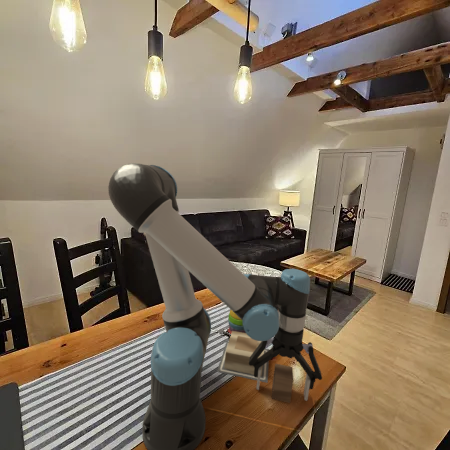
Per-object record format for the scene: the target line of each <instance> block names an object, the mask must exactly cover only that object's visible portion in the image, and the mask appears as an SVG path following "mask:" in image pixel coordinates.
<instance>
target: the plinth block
mask: <svg viewBox="0 0 450 450" xmlns="http://www.w3.org/2000/svg"><path fill="white" fill-rule="evenodd" d="M228 341H229V343H228V346H227V349H226V354H225V366H224V369H229V370H234V371H238V372H243V373H248V374H252V375H254V369H255V368H254V366H253V365H252V366H250V365H249V359H250V356H251V355H252V354H253V352H254V351H255V350H256V348H257V347H258V346H259V344H260V343H261V342H262V341H256V340H254V339H252V338H250V337H249V336H248V335H247V334H246V333H242V332H236V331H232V333H231V336H230V335H229V339H228ZM263 354H264V351H263V352H262V353H261V355H260V356H259V357H261V356H262V355H263ZM259 357H258V358H259ZM262 367H263V365H262V366H261V376H262Z"/></svg>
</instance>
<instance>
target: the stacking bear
mask: <svg viewBox="0 0 450 450" xmlns="http://www.w3.org/2000/svg"><path fill="white" fill-rule="evenodd" d="M227 320H228V326H229V327H228V329H227V333H228V332H229V333H230V334H231V333H232V331H236V332H242V333H246V332H245V330H244V327H243V321H242V320H241V319H240V318H239V317H238V316H237V315H236V314H235V313H234V312H233V311H232V310H231V309H230V308H229V313H228V318H227Z"/></svg>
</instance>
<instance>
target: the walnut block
mask: <svg viewBox="0 0 450 450" xmlns="http://www.w3.org/2000/svg"><path fill="white" fill-rule="evenodd" d="M273 370H274V371H273V379H272V386H271V387H272V391H271V392H272V393H271V399H272V400H277V401H280V402H284V403H289V404H290V403H291V398H292V391H293V385H294V371H293V366H289V365H284V364H280V363H274V369H273Z"/></svg>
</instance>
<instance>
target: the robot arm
mask: <svg viewBox="0 0 450 450" xmlns="http://www.w3.org/2000/svg"><path fill="white" fill-rule="evenodd" d="M107 187H108V188H107V189H108V195H109V200H110V202H111V204H112V205H113V207H114V208H115V210H116V211H117V213H118V214H120V216H121V217H122V218H123V219H124V220H125V221H126V222H127V223H128V224H129V225H130V226H131V227H132V228H133V229H135V230H136V231H137V232H138V233H141V234H143V233H144V234H145V238H146V243H147V246H148V250H149V253H150V257H151V260H152V264H153V268H154V269H155V275H156V278H157V280H158V285H159V289H160V292H161V295H162V299H163V303H164V306H165V310H164V311H163V313H162V316H161V317H162V321H163V324H164V327H165V331H164V332H162V333H161V334H160V335H159V336H158V337H157V338H156V340H155V341H154V344H153V346H152V350H151V353H150V354H151V355H150V402H149V404H148V406H147V409H146V411H145V414H144V415H143V416H144V417H143V419H142V420H143V421H142V428H141V429H142V433H141V434H142V440H143V443H144V445H145V448H146V449H147V450H196V448H197V447H199V445H200V443H201V441H202V439H203V438H204V436H205V431H206V412H205V409H204V407H203V403H202V400H201V386H202V385H201V383H202V374H203V373H202V372H203V371H202V370H203V368H204V367H203V366H204V361H205V356H206V352H207V348H208V342H209V339H210V336H211V331H212V321H211V317H210V314H209V312H208V311H207V310H206V309H205V308H204V305H203V302H202V301H201V300H199V299H197V297H196V295H195V290H194V286H193V283H192V279H191V275H190V274H192V276H194V277H195V279H197V280H198V281H199V282H200V283H202V285H203V286H204V287H206V288H207V289H208V290H209V291H210V292H211V293H212V294H213V295H214V296H215V297H216V298H218V299H219V300H220V301H221V303H223V304H224V305H225V306H227V308H229V310H230V309H231V310H232V311H233V312H234V313H235V314H236V315H237V316H238V317H239V318H240V319H241V320H242V321H243V327H244V330H245V332H246V334H247V335H248V336H249V337H250V338H252V339H254V340H256V341H262V342H261V343H260V344H259V346H258V347H257V348H256V350H255V351H254V352H253V354H252V355H251V356H250V359H249V365H250V366H252V365H253V366H254V368H255V369H254V377H257V378H258V379H257V380H256V381H257V382H256V388H255V389H256V390H258V391H259V390H260V382H261V381H260V376H261V366H262V365H264V364H265V363H266V362H268V361H271V360H272V359H274V358H277V356H280V357H283V358H284V357H286V358H288V359H293V358H294V359H295V360H296V362H298V364H299V365H300V366H301V368H302V369H303V371H304V372H305V373H306V375H305V382H304V387H303V388H304V389H303V397H304V398H303V399H304V401H306V402H307V401H308V399H309V392H310V390H313V389H314V385H315V383H316V380H318V381H322V379H323V376H322V371H321V369H320V367H319V363H318V361H317V358H316V356H315V352H314V347H313V346H314V345H313V343H312V342H307V343H303V339H304V338H303V337H304V331H305V330H304V329H305V323H306V317H307V316H306V315H307V307H308V301H309V295H310V292H311V291H310V290H311V277H310V275H309V274H308V273H307V272H305V271H303V270H300V269H297V268H286V269H284V270H282V271H281V274H280V276H271V275H270V276H269V275H262V274H252V273H243V272H242V271H240V269H239V268H237V266H235V265H234V264H233V263H232V262H231V261H230V260H229V259H228V258H227V257H226V256H225V255H223V254H222V252H220V250H218V249H217V248H216V247H215V246H214V245H213V244H212V243H211V242H210V241H208V239H207V238H206V237H204V235H203V234H202V233H200V232H199V231H198V230H197V229H196V228H195V227H194V226H192V224H190V222H189V221H187V220H186V219H185V218H184V217H183V215H181V214H180V213H179V212H180V210H179V206H178V205H179V204H178V202H177V194H178V184H177V182H176V179H175V178H174V176H173V175H172V174H171V173H170V171H168V170H166V169H165V168H163V167H161V166H158V165H154V164H143V163H136V162H135V163H134V162H133V163H132V162H131V163H127V164H124V165H122V166H120V167H119V168H117V169H116V170H115V171H114V172H113V174H112V175H111V177H110V179H109V182H108V186H107ZM270 344H272V346H271V347H270V349H269V350H268V351H267V352H266V353H264V354H263V355H262V356H261V357H259V356H260V355H261V353H262V352H263V351H264V349H267V347H268V346H269V345H270ZM303 350H304V351H305V353H306V354H308V356H309V357H308V358H309V359H310V363H311V366H312V367H311V366H310V365H309V363H308V361H306V359H305V358H304V356H303V354H302V351H303ZM258 357H259V358H258ZM312 368H313V369H314V370H313V369H312Z"/></svg>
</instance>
